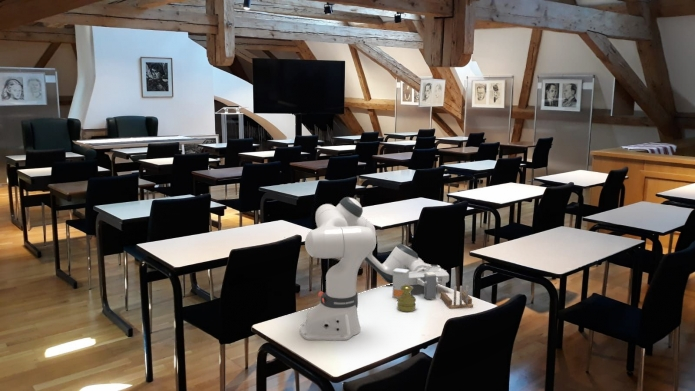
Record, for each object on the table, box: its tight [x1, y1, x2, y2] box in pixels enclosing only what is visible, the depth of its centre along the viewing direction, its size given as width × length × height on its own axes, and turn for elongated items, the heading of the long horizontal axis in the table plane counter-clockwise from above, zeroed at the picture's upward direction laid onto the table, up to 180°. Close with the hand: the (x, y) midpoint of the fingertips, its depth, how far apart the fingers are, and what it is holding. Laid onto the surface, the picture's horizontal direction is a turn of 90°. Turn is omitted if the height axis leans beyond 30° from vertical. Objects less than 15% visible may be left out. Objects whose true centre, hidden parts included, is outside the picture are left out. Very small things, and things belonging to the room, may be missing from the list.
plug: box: [423, 272, 437, 300], centre depth 240 cm, size 4×4×11 cm
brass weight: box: [396, 285, 417, 313], centre depth 229 cm, size 7×7×10 cm
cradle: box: [439, 284, 474, 310], centre depth 235 cm, size 10×12×9 cm
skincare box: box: [391, 268, 409, 298], centre depth 242 cm, size 6×4×12 cm
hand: (430, 283), depth 240 cm, fingers closed on plug, 4 cm apart
